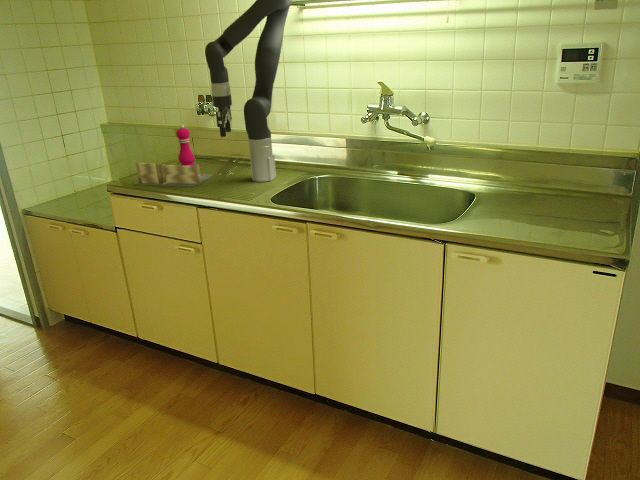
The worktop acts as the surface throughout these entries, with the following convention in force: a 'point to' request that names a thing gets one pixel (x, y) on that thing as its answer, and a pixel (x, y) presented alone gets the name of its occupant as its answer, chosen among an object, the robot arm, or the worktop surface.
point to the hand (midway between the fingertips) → (226, 134)
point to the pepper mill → (184, 147)
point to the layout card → (203, 177)
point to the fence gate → (180, 174)
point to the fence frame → (149, 173)
